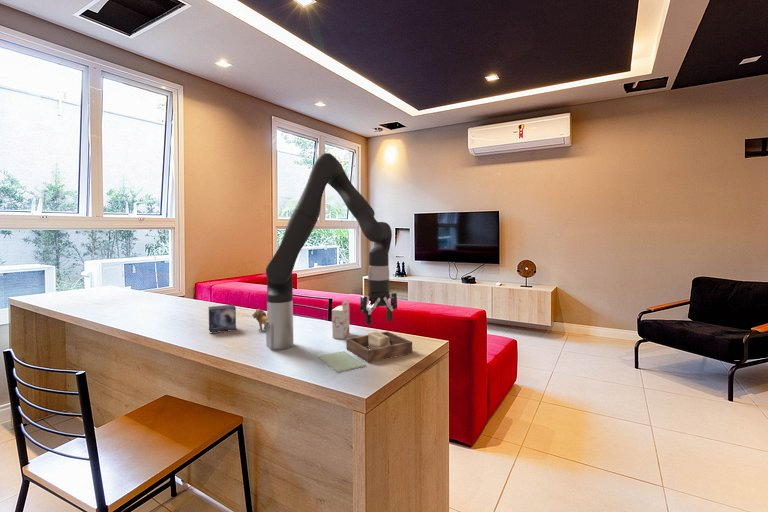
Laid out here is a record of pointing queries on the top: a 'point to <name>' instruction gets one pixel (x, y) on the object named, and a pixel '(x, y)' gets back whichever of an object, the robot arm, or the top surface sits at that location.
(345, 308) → the ink cartridge box
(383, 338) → the maple block
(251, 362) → the top surface
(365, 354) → the slot box
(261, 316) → the lion figurine
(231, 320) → the small box
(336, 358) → the mat
